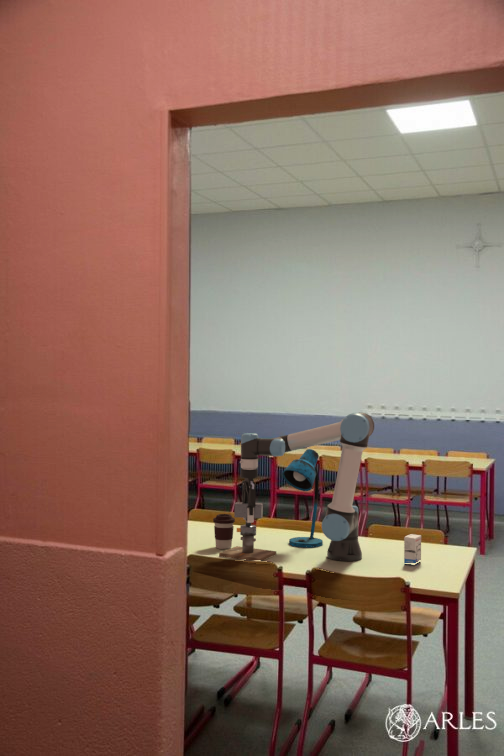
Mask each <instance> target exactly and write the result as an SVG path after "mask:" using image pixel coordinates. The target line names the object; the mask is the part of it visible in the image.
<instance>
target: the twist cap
mask: <svg viewBox="0 0 504 756" xmlns="http://www.w3.org/2000/svg"><path fill="white" fill-rule="evenodd" d="M263 505H264V504H263V502H256V506H255V507H254V519H262V518H263ZM247 506H248V503H246V502H242V501H240V502H239V501H236V502H235V503H234V514H233V515H234V517H233V518H241V519H242V518H243V519H244V518H246V520H245V524H240V527H236V533H239V534H240V536H241V537H243V536H254V537H255V536H256V535H257V525H255V524H252V523H247Z"/></svg>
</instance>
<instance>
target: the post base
mask: <svg viewBox="0 0 504 756" xmlns="http://www.w3.org/2000/svg"><path fill="white" fill-rule="evenodd" d="M240 540H241V541H242V542H241V543H242V546H238V545H236V546H233V547H231V548H229V549H225V550H224V551H221V552H219V553H218V555H219V556H218V557H222V558H228V559H236V560H241V559H246V560H245V561H248V560H263V561H266V560H267V559H270V558H272V557H274V556H277V550H270V549H261V548H255V547H254V545H255V544H254V543H255V542H256V541H257V538H256V537H255V536H241V537H240Z"/></svg>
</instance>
